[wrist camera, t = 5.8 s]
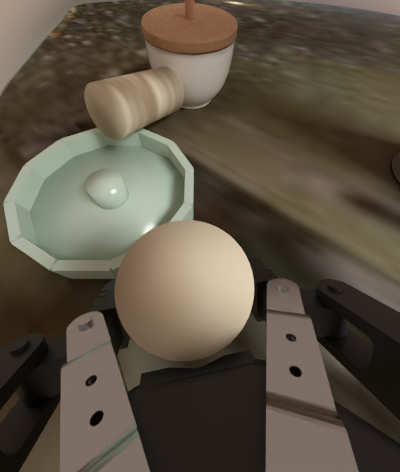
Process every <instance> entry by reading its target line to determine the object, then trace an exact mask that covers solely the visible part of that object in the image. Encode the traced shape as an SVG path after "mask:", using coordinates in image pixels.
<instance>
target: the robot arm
mask: <svg viewBox="0 0 400 472" xmlns="http://www.w3.org/2000/svg"><path fill="white" fill-rule="evenodd" d="M392 170H393V173H394V175H395V177H396V178H397V180H398V181H399V183H400V152H399V153H398V154H397V155H396V156H395V157H394V159H393V161H392ZM244 253H245V255H246V257H247V259H248V261H249V263H250V266H251V269H252V273H253V278H254V299H253V304H252V309H251V312H252V313H253V315H254V317H255V319H256V320H257V322H258V321H263V320H265V322H266V361H265V360H259V359H254V358H253V355H252V353H251V351H250V350H248V351H243V352H239V353H234V354H229V355H225V356H223V357H221V358H219V359H217V360H215V361H213V362H211V363H209V364H207V365H205V366H203V367H201V368H198V369H191V368H165V369H161V370H156V371H151V372H147V373H142V374H141V380H140V385H138V386H136V387H135V388H133V389H132V390H130V391H128V388H127V385H126V382H125V379H124V375H123V372H122V369H121V366H120V363H119V360H118V357H117V354H118V351H119V349H122V348H127V347H128V343H129V339H130V336H129V335H128V333H127V332H126V330H125V329H124V327H123V325H122V323H121V321H120V319H119V316H118V313H117V309H116V304H115V281H116V277H115V279H114V280H110V281H109V282H108V283H107V284H106V285H105V286H104V287H103V288H102V290H101V293H100V294H99V295H98V298H97V299H96V300H95V302H94V304H93V305H92V307H91V309H90V310H89V312H88V313H86V314H83V315H81V316H79V317H78V318H76V319H75V320H74V321H72V322H71V323H70V325H69V326H68V328H67V330H66V333H63V334H61V335H58V336H56V337H53V338H51V339H48V340H45V338H44V336H43V335H42V334H41V333H31V334H28V335H25V336H23V337H20V338H18V339H17V340H15V341H13V342H12V343H10V344H9V345H7V346H6V347H5V348H4V349H3V350H1V351H0V409H1V408H2V407H3V405H4V404H5V403H6V402H7V401H8V399H9V398H10V397H11V396H12V394H13V393H14V392H16V393H17V395H18V396H19V398H20V399H19V400H18V401H17V403H16V404H15V405H14V407H13V408H12V409H11V411H10V412H9V413H8V415H7V416H6V417H5V419H4V420H3V421H2V422H1V424H0V472H19V470H20V468H21V467H22V465H23V463H24V462H25V460H26V458H27V456H28V455H29V453H30V451H31V450H32V448H33V446H34V444H35V443H36V441H37V439H38V438H39V436H40V434H41V432H42V431H43V429H44V427H45V426H46V424H47V422H48V420H49V419H50V417H51V415H52V414H53V412H54V410H55V408H56V407H57V405H58V403H59V402H60V400H61V412H60V472H400V443H398V442H397V441H395V440H394V439H392V438H391V437H389V436H387V435H386V434H384V433H383V432H381V431H380V430H378V429H377V428H375V427H374V426H372V425H371V424H369V423H368V422H366V421H365V420H363V419H362V418H360V417H358V416H357V415H355V414H354V413H352V412H351V411H349V410H348V409H346V408H345V407H343V406H342V405H340V404H339V403H337V402H336V401H334V400H333V397H332V393H331V390H330V386H329V382H328V379H327V375H326V371H325V368H324V364H323V360H322V357H321V353H320V349H319V346H318V342H319V343H320V344H321V345H322V346H323V347H325V348H326V349H327V350H328V351H329V352H330V353H331V354H332V355H333V356H334V357H335V358H336V359H337V360H338V361H339V362H340V363H341V364H342V365H343V366H344V367H345V368H346V369H347V370H348V371H349V372H350V373H351V374H352V375H353V376H354V377H355V378H357V379H358V380H359V381H360V382H361V383H362V384H363V385H364V386H365V387H366V388H367V389H368V390H369V391H370V392H371V393H372V394H373V395H374V396H375V397H376V398H377V399H378V400H379V401H380V402H381V403H382V404H383V405H384V406H385V407H386V408H387V409H388V410H390V411H391V412H392V413H393V414H394V415H395V416H396V417H397V418H398V419H399V420H400V313H399V312H398V311H396V310H394V309H392V308H390V307H388V306H386V305H385V304H383V303H381V302H379V301H377V300H375V299H374V298H372V297H370V296H368V295H366V294H364V293H363V292H361V291H359V290H357V289H355V288H353V287H352V286H350V285H348V284H346V283H344V282H341V281H337V280H331V279H325V280H321V281H319V282H318V283H317V289H300V288H299V287H298V286H297V284H296V283H294V282H292V281H290V280H287V279H282V278H278V277H277V276H276V275H275V274H274V273H273V272H272V271H271V270H270V269H269V268H268V267H267V266H266V265H265V264H264V263H263V262H262V261H261V260H259V259H257V258H255V257H250V256H249V255H248V254H247V253H246V252H245V251H244ZM116 276H117V275H116ZM349 322H350V323H352V324H353V325H354V326H356V327H357V328H358V329H360V330H361V331H363V332H364V333H365V334H366V335H367V336H368V337H369V338H370V339H371V341H372V342H373V345H374V348H372V347H371V346H370V345H369V344H367V343H366V342H365V341H363V340H362V339H361V338H359V337H358V336H357V335H355V334H354V333H353V332H351V331H350V330H349V329H348V326H349ZM317 341H318V342H317Z"/></svg>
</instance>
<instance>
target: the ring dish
mask: <svg viewBox="0 0 400 472" xmlns="http://www.w3.org/2000/svg"><path fill="white" fill-rule="evenodd" d="M25 165H26V166H23V168H22V169H21V171H20V173H19V175H18V177H17V178H16V180H15V182H14V184H13V186H12V187H11V189H10V191H9V193H8V195H7V197H6V198H5V200H4V202H5V203H3V204H4V210H5V216H6V222H7V228H8V234H9V239H10V242H11V244H12V245H14V246H15V247H17V248H18V249H20V250H21V251H23V252H24V253H25V254H27V255H28V256H30V257H31V258H33V259H34V260H35V261H37V262H38V263H40V264H41V265H43V266H44V267H46V268H47V269H48V270H50V271H53V272H55V273H58V274H60V275H63V276H65V277H68V278H71V279H115V277H116V275H117V273H118V269H119V267H120V264H121V262H122V260H123V258H124V256H125V254H126V253H127V252H128V250H129V249H130V247H131V246H132V245H133V244H134V243H135V242H136V241H137V240H138V239H139V238H140V237H141V236H142V235H144V234H145V233H147V232H148V231H150V230H152V229H153V228H155V227H157V226H160V225H162V224H165V223H169V222H173V221H179V220H193V205H194V169H193V167H192V165H191V164H190V163H189V161H188V160H187V159H186V157H185V156H184V155H183V153H182V152H181V151H180V149H179V148H178V147H177V145H176V144H175V143H174V142H173V141H171V140H169V139H167V138H164V137H162V136H160V135H157V134H155V133H152V132H150V131H148V130H145V129H143V128H141V129H139V130H137V131H135V132H133V133H131V134H129V135H127V136H125V137H123V138H121V139H119V140H113V139H110V138H108V137H107V136H106V135H104V134H103V133H102V132H101V131H100V130H99V129H98V128H94V129H91V130H88V131H85V132H81V133H78V134H75V135H71V136H68V137H65V138H62V139H61V140H58V141H56V142H55V143H54V144H52V145H51V146H49V147H48V148H47V149H45V150H44V151H43V152H41V153H40V154H38V155H37V156H36V157H34V158H33V159H32V160H30V161H29V162H27V163H26V164H25Z"/></svg>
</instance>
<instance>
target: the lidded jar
mask: <svg viewBox="0 0 400 472" xmlns="http://www.w3.org/2000/svg"><path fill="white" fill-rule="evenodd" d="M141 27H142V32H143V36H144V38H145V43H146V49H147V54H148V59H149V62H150V66H151V69H155V68H159V67H169V68H171V69H173V70H175V71H176V72H177V74H178V75H179V77H180V78H181V81H182V83H183V87H184V102H183V104H182V106H181V108H184V109H199V108H202V107H205V106H206V105H208V104H209V103H210V102H211V99H213V98H214V97H215V96H216V95H217V94H218V92H219V91H220V90H221V88H222V87H223V85H224V83H225V80H226V78H227V75H228V72H229V69H230V65H231V61H232V55H233V49H234V42H235V39H236V35H237V28H238V24H237V21H236V19H235V18H234V17H233V16H232V15H231V14H229V13H228V12H226V11H224V10H222V9H219V8H216V7H213V6H209V5H204V4H195V3H194V0H185V3H177V4H169V5H164V6H160V7H157V8H154V9H152V10H150V11H149V12H147V13H146V14H145V15H144V16H143V18H142V21H141Z"/></svg>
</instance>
